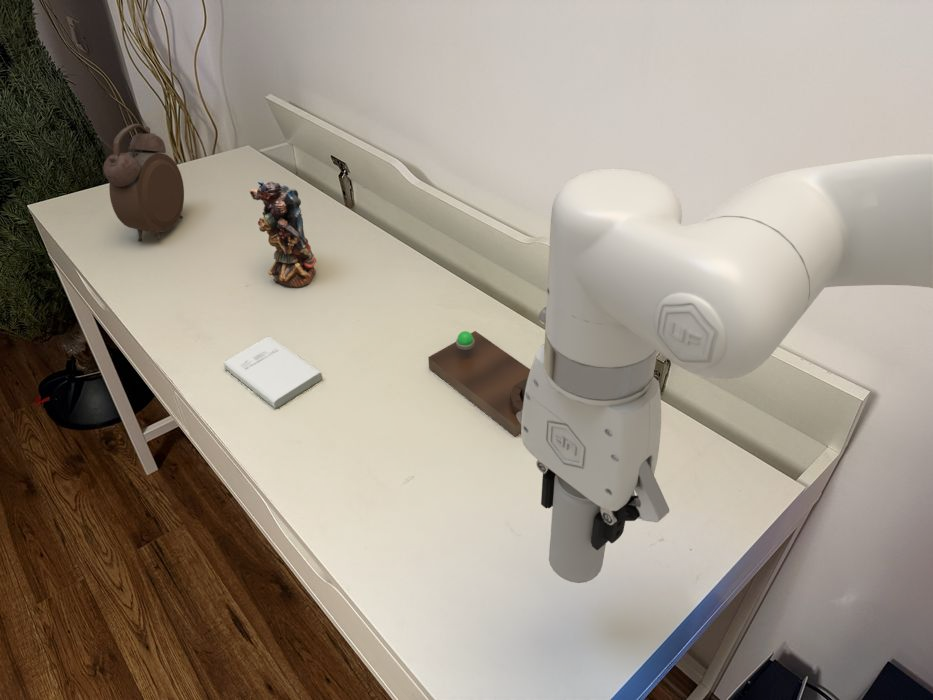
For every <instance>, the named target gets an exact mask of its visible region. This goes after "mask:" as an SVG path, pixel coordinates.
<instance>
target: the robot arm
mask: <svg viewBox="0 0 933 700" xmlns="http://www.w3.org/2000/svg"><path fill="white" fill-rule="evenodd" d="M550 213H551V215H550V225H549V226H550V227H549V247H548V248H549V249H548V267H547V268H548V269H547V290H546V306H544V307H543V308H542V310H541V311H540V312H539V315H538V322H539V323H541V324H542V325H543V326H544V327H545V328H544V343H543V344H542V345H541V346H539V348H538V349H537V350H536V353H535V355H534V358H533V360H532V364H531V367H530V368H529V369H530V373H529V376H528V380H527V384H526V389H525V395H524V402H523V409H522V410H521V411H519V412H518V413H517V414H516V416H517V419H518V420H519V422H520V423H521V433H520V435H521V440H522V444H523V446H524V448H525V449H526V450H527V451H528V452H529V453H530V455H532V456H533V457H534V458H535V459H536V463H535V465H536V467H537V469H538V470H539V471H540V473H542V479H541V480H542V481H541V496H540V497H541V499H540V505H541V506H542V507H543V508H544V509H552V508H553V495H554V482H555V476H556V474H557V475H558V476H559V477H560V478H562V479H563V480H564V481H566V482H567V483H568V484H570V485H571V486H572V487H573V488H575V489H576V490H577V491H579V492H580V493H581V494H583V495H584V496H585V497H587V498H588V499H589V500H591V501H592V502H594V503H595V504H597V505H598V506H600V512H599V513H598V514H597V515H596V516H595V517H594V522H593V530H592V537H591V544H592V547H593V548H595V549H596V550H599V549H600V548H601V547H602V546H603V545H604V544H606V545H607V543H608V542H609V543H610V544H614V543H615V542H616V541H618V540H619V539H620V538H621V537H622V535H623V533H624V531H625V525H626V522H635V521H636V520H641V521H645V522H652V523H659V522H660V521H661V520H662V519H664V518H665V517H666V516H667V515H668V514H669V513H670V508H669V505H668V503H667V501H666V498H665V497H664V495H663V492H662V490H661V488H660V485H659V483H658V481H657V479H656V477H655V473H656V468H657V464H658V458H659V452H660V444H661V443H660V442H661V433H662V395H661V386H660V381H659V380H658V379H657V378H656V377H655V376H654V375H655V370H656V369H655V368H656V363H657V357H658V353H659V354H660V355H661V356H663V357H664V358H666V359H667V360H669V361H670V362H672V363H673V364H675V365H676V366H678V367H680V368H681V369H683V370H685V371H687V372H689V373H690V374H694V375H696V376H699V377H702V378H705V379H709V380H719V381H721V380H723V381H725V380H726V381H727V380H733V379H738V378H741V377H743V376H746V375H748V374H751V373H753V372H754V371H755V370H757V369H758V368H759V367H761V366H762V365H763V364H764V363H765V362H767V360H768V359H769V358H770V357H771V356H772V355H773V353H775V351H776V350H777V349H778V347H779V346H780V345H781V344H782V342H783V341H784V339H785V338H786V337H787V336H788V334H789V333H790V332H791V331H792V330H793V328H794V327H795V326H796V324H797V323H798V322H799V320H800V319H801V318H802V317H803V315H804V314H805V313H806V312H807V310H808V309H809V308H810V307H811V305H812V304H813V303H814V301H815V300H816V299H817V298H818V297H819V295H820V294H821V293H822V291H823V290H824V289H825V288H836V287H859V286H910V287H921V288H930V289H933V153H912V154H898V155H897V154H896V155H888V156H881V157H873V158H872V157H871V158H865V159H858V160H851V161H845V162H837V163H830V164H822V165H816V166H811V167H810V166H808V167H803V168H798V169H797V168H796V169H792V170H787V171H783V172H778V173H775V174H771V175H768V176H765V177H762V178H761V179H757V180H755V181H753V182H751V183H749V184H747V185H744V186H742V187H741V188H740V189H738V190H737V191H736V192H734V193H733V194H732V195H730V196H729V197H728V198H727V199H725V200H724V201H723V202H721V203H720V204H719V205H718V206H716V207H715V208H714V209H713V210H712V211H711V212H710V213H709V214H707V215H706V216H705V217H704V218H703V219H702V220H701V221H699V222H695V223H691V224H687V225H682V221H683V220H682V219H683V210H682V205H681V201H680V198H679V197H678V194H677V193H676V192H675V190H674V189H673V188H672V187H671V186H670V185H669V184H668V183H666V181H664V180H663V179H661V178H659V177H657V176H655V175H653V174H649V173H648V172H643V171H640V170H634V169H629V168H599V169H593V170H589V171H588V170H587V171H585V172H582V173H579V174H578V175H576V176H574V177H572V178H571V179H569V180H567V181H566V182H565V183H564V184H563V185H562V186H561V187H560V188H559V189H558V192H557V193H556V195H555V197H554V199H553V202H552V206H551V212H550Z"/></svg>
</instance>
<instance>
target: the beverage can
mask: <svg viewBox="0 0 933 700" xmlns="http://www.w3.org/2000/svg"><path fill="white" fill-rule="evenodd" d="M551 509H552V510H551V525H550V539H549V552H548V561H549V565H550V567H551V569H552V571H553V572H554V573H555V574H556V575H557V576H559V577H560V578H562V579H563V580H565V581H568V582H571V583H575V584H583V583H587V582H590V581H593V580H594V579H595V578H596V577H597V576H598V575H599V574H600V572H601V571H602V568H603V564H604V558H605V552H606V545H607V543H606V544H604V545H603V546H602V547H601V548H600V549H599V550H596V549H595V548H593V547H592V544H591V537H592V530H593V522H594V517H595V516H596V515H597V514H598V513H599V512H600V506H598V505H597V504H595V503H594V502H592V501H591V500H589V499H588V498H587V497H585V496H584V495H583V494H581V493H580V492H579V491H577V490H576V489H575V488H573V487H572V486H571V485H570V484H568V483H567V482H566V481H564V480H563V479H562V478H560V477H559V476H558V475H557V474H556V476H555V482H554V495H553V506H552V508H551Z"/></svg>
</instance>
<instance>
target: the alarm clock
mask: <svg viewBox="0 0 933 700" xmlns="http://www.w3.org/2000/svg"><path fill="white" fill-rule="evenodd" d="M134 129H138V130H139V131H140V132H139V133H137V134H135V135H134V136H132V138H131V140H130V144H129V146H128V147H127V150H128V151H127V152H121V141H122V140H123V139H124V137H125V136H126V135H127V134H129V133H130V132H132V131H133V130H134ZM112 149H113V153H112V154H110V155H109V156H107V158H106V159H105V161H104V163H103V166H102V169H103V174H104V176H105V179H106V180H107V181H108V182H109V187H108V188H109V199H110V203H111V207H112V209H113V211H114V214H115V215H116V217H117V219H118V220H119V221H120V223H122V224H123V225H124V226H126V227H127V228H129V229H132V230H137V235H138V238H137V240H138V242H142V241H143V238H142V237H143V232H151V233H156V234H157V241H161V240H162V237H161V232H163V233H164V232H168V231H170V230H171V229H172V228H173V227H175V225H176V224H177V223H178V221H179V219H180V220H182V219H184V218H183V215H181V214H182V212H183V208H184V202H185V187H184V181H183V176H182V173H181V170H180V168H179V166H178V165H177V163H176V162H175V161H174V159H173V158H172V157H171V156H169V155H168V154H166V153H167V150H166V144H165V142H164V140H163V139H162V137H160V136H159V135H157V134H156V133H152V132H151V129H150V126H146V127H145V126H144V125H143V124H140V123H133V124H129V125H127V126H126V127H124V128H123V129H121V130H120V131H119V132H118V134H116V136H115V137H114V139H113V148H112Z"/></svg>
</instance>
